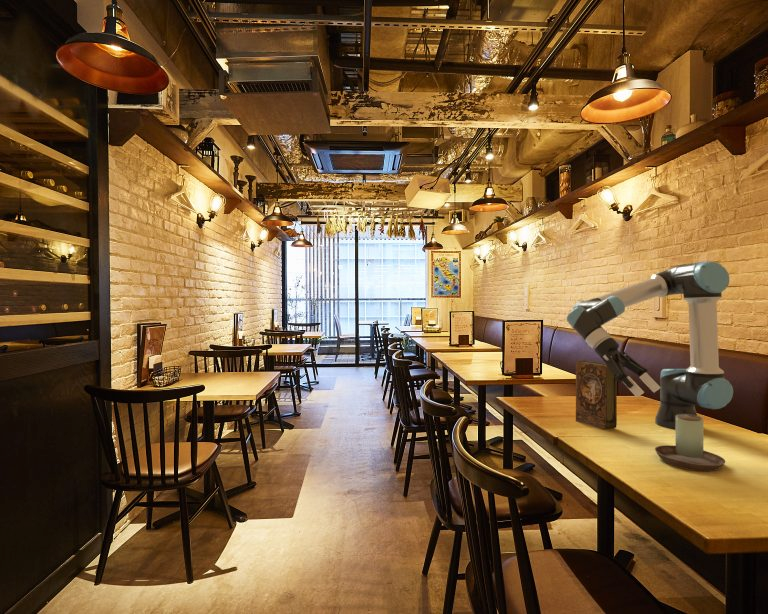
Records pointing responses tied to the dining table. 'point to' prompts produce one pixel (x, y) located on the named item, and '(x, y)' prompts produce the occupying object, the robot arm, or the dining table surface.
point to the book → (596, 395)
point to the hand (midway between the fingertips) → (649, 392)
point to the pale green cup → (689, 435)
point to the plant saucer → (690, 459)
